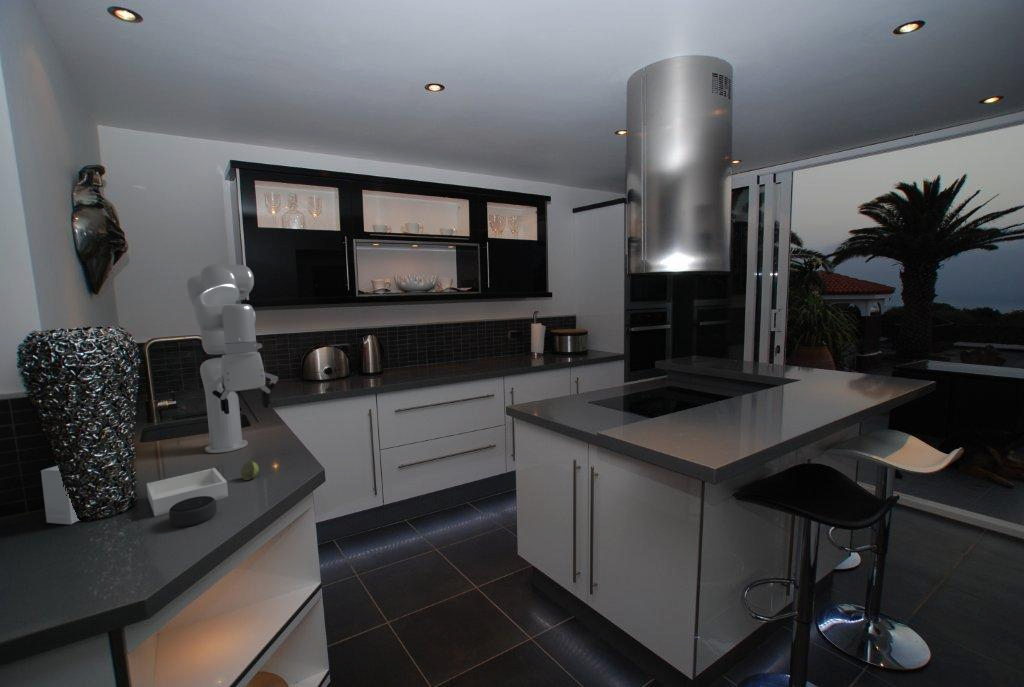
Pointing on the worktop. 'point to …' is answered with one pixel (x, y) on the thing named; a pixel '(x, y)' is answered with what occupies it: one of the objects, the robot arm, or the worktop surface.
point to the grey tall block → (56, 498)
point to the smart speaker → (192, 511)
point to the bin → (185, 489)
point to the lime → (249, 470)
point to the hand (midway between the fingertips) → (246, 410)
